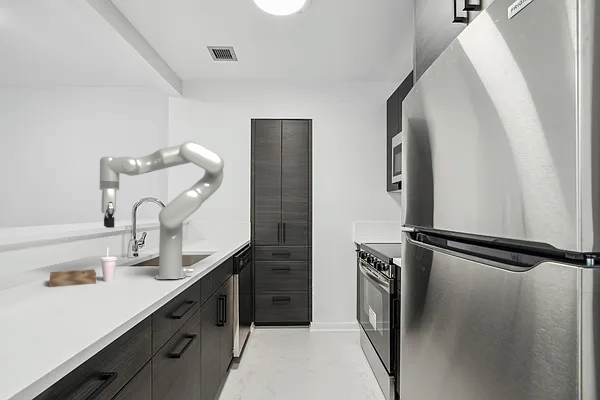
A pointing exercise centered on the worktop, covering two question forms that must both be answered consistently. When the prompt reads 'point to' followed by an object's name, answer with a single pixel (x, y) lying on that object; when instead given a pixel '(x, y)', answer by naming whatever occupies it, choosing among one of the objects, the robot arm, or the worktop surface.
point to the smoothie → (108, 267)
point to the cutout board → (72, 277)
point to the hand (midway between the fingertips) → (109, 227)
